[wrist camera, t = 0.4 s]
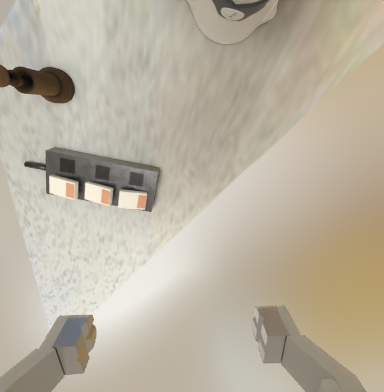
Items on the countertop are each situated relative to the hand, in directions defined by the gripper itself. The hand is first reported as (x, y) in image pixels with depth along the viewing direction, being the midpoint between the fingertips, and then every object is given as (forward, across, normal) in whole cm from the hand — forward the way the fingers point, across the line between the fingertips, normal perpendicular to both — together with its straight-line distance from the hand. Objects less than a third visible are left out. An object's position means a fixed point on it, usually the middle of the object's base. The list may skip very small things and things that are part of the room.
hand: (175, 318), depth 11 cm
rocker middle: (+39, +18, +8) cm, 44 cm away
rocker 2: (+39, +11, +9) cm, 41 cm away
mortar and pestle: (+45, +25, -14) cm, 53 cm away
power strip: (+45, +21, +5) cm, 49 cm away
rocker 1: (+39, +26, +6) cm, 47 cm away
